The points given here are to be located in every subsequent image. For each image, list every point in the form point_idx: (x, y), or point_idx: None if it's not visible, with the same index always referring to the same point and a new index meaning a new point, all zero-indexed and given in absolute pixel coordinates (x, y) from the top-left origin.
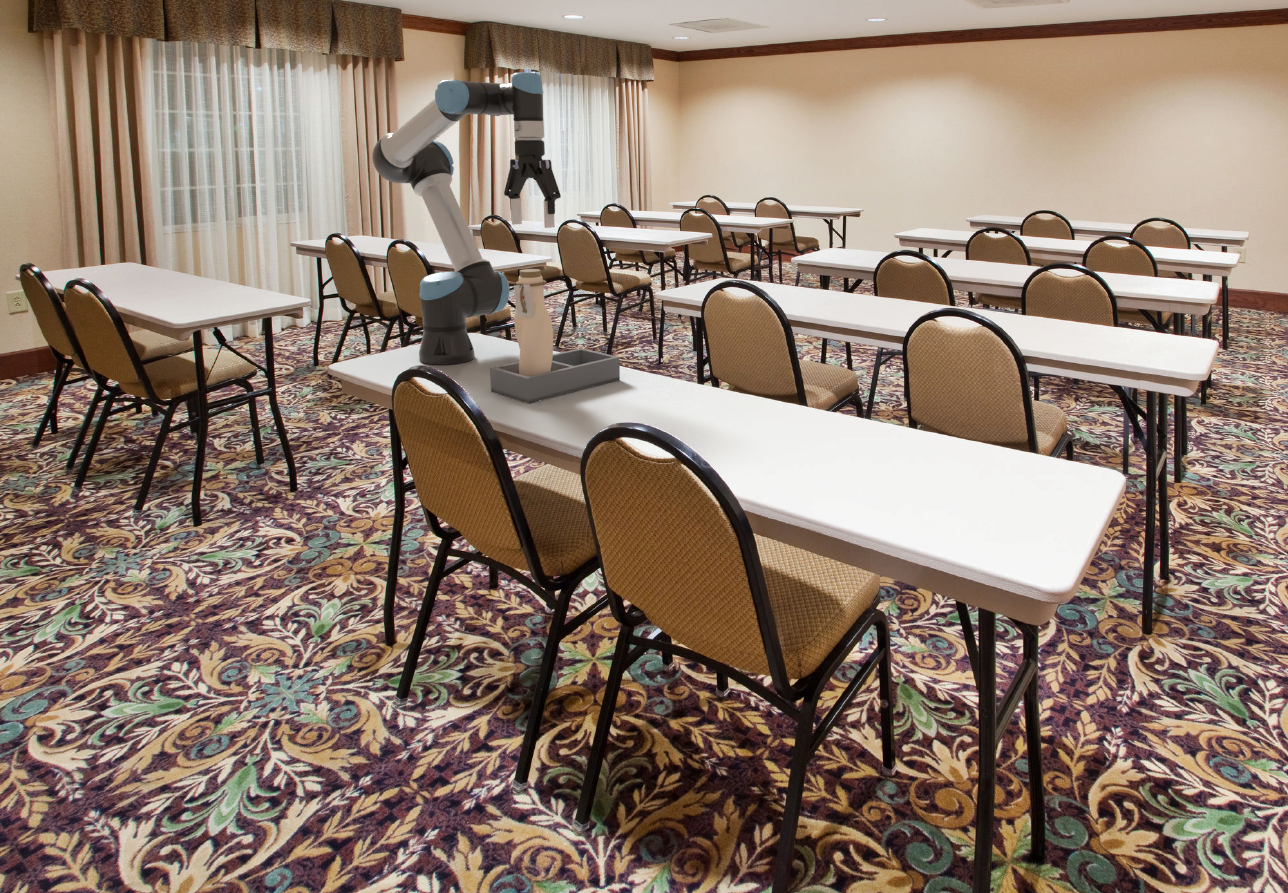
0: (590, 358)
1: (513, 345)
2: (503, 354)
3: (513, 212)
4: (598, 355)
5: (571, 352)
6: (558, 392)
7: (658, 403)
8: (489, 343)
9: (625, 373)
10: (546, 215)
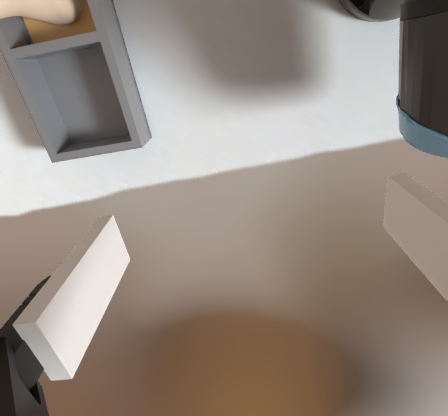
0: (112, 141)
1: (380, 133)
2: (334, 82)
3: (425, 210)
4: (90, 147)
5: (125, 117)
6: None
7: None
8: None
9: (104, 179)
10: (69, 257)
